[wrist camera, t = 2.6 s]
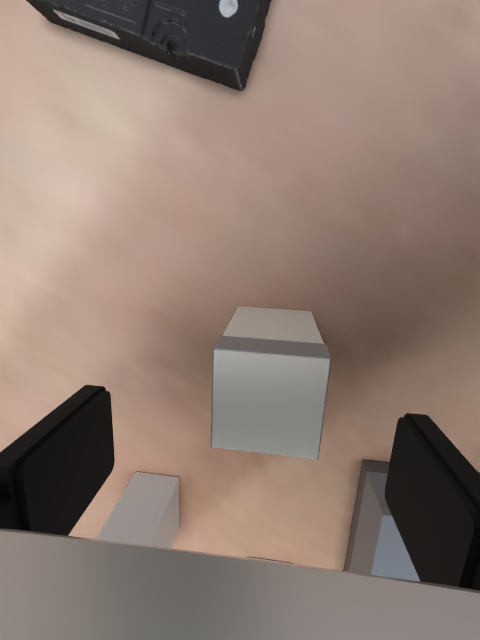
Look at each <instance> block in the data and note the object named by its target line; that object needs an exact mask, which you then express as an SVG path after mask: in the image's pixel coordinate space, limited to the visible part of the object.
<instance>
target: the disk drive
mask: <svg viewBox="0 0 480 640" xmlns="http://www.w3.org/2000/svg"><path fill="white" fill-rule="evenodd" d="M26 1H28V2H29V3H30V4H31V5H32V6H33V7H34V8H35V9H36V10H37V11H39V12H40V13H41V14H42V15H43V16H44V17H46V18H47V19H48V20H49V21H50V22H52V23H54V24H57V25H60V26H63V27H65V28H70V29H72V30H74V31H78V32H80V33H82V34H85V35H87V36H90V37H92V38H96V39H98V40H101V41H104V42H107V43H110V44H112V45H115V46H117V47H120V48H122V49H126V50H128V51H131V52H133V53H136V54H139V55H142V56H145V57H148V58H150V59H153V60H156V61H158V62H161V63H164V64H166V65H169V66H172V67H175V68H177V69H180V70H183V71H186V72H188V73H191V74H194V75H197V76H200V77H202V78H205V79H210V80H212V81H215V82H217V83H221V84H223V85H225V86H228V87H230V88H233V89H236V90H239V91H242V90H244V88H245V86H246V81H247V78H248V75H249V71H250V68H251V65H252V61H253V60H254V59H255V56H256V53H257V50H258V47H259V43H260V41H261V38H262V34H263V30H264V27H265V18H266V15H267V12H268V9H269V5H270V2H271V0H26Z"/></svg>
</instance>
